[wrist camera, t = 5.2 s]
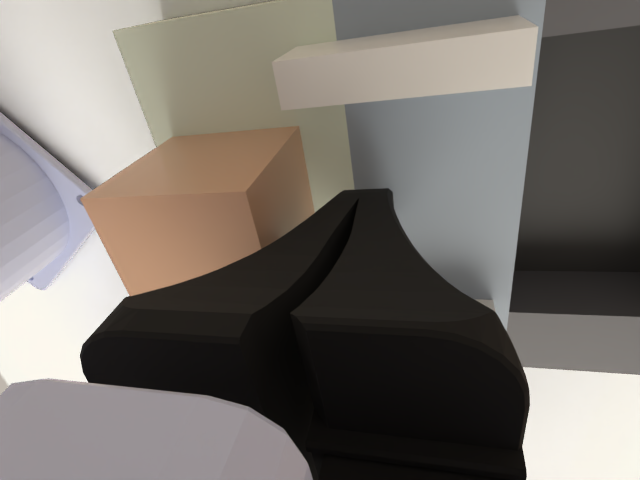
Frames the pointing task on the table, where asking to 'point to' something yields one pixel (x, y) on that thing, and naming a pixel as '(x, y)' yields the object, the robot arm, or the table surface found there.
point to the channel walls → (409, 65)
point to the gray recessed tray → (522, 175)
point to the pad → (237, 80)
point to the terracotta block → (200, 204)
